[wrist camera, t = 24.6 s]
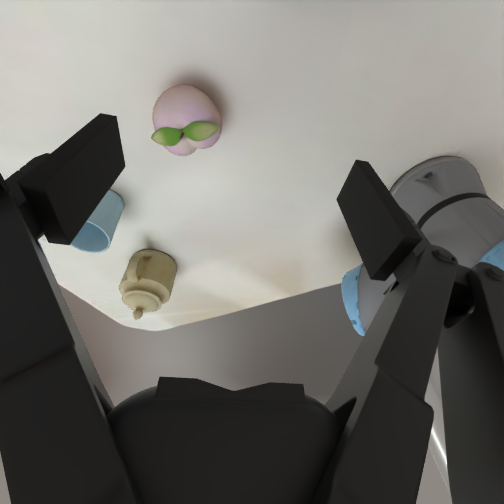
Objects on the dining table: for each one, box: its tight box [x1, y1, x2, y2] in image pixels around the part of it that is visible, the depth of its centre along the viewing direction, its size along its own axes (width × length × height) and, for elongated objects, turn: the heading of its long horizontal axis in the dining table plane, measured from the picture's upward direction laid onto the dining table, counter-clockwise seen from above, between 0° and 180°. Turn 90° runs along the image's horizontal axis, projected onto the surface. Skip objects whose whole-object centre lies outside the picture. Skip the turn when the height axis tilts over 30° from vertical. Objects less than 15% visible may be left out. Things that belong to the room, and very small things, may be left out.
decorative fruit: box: [151, 85, 222, 156], centre depth 35 cm, size 9×8×10 cm
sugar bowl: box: [119, 250, 177, 320], centre depth 57 cm, size 15×11×15 cm
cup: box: [70, 190, 124, 253], centre depth 46 cm, size 8×8×10 cm
